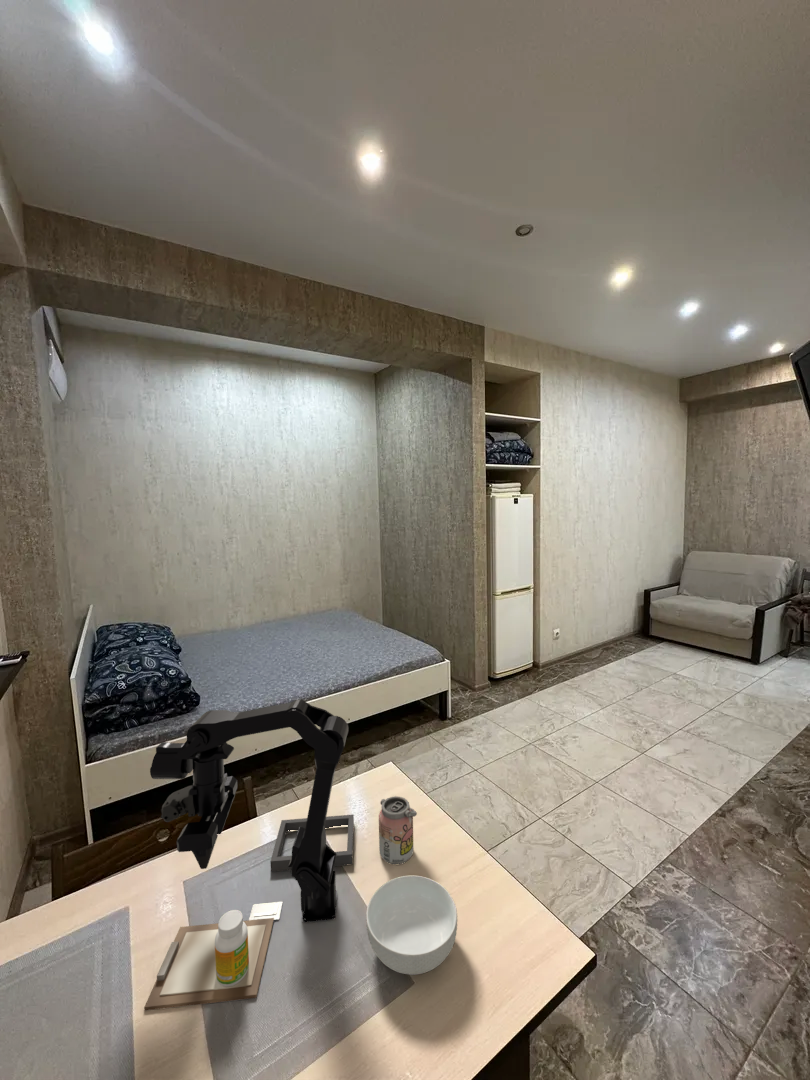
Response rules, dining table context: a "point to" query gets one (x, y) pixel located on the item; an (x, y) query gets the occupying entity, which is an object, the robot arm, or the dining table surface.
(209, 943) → the clipboard
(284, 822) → the empty rectangular frame
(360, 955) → the dining table surface
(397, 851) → the beverage can
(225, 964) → the supplement bottle
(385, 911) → the cereal bowl
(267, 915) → the letter card
